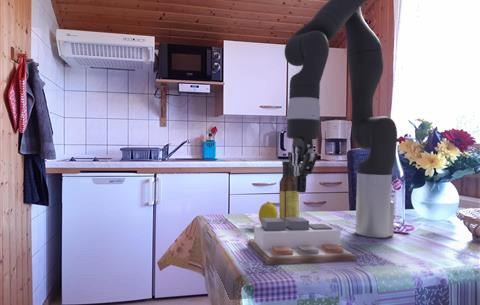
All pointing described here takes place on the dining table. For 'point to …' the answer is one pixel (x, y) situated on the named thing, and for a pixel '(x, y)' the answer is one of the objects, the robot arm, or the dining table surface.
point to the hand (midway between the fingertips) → (300, 191)
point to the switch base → (303, 254)
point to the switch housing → (295, 237)
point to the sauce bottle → (288, 194)
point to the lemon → (267, 211)
